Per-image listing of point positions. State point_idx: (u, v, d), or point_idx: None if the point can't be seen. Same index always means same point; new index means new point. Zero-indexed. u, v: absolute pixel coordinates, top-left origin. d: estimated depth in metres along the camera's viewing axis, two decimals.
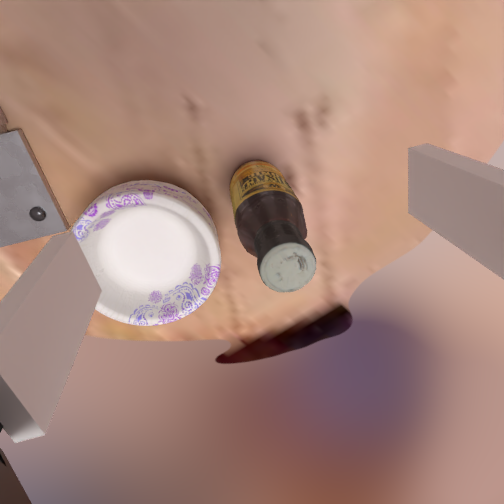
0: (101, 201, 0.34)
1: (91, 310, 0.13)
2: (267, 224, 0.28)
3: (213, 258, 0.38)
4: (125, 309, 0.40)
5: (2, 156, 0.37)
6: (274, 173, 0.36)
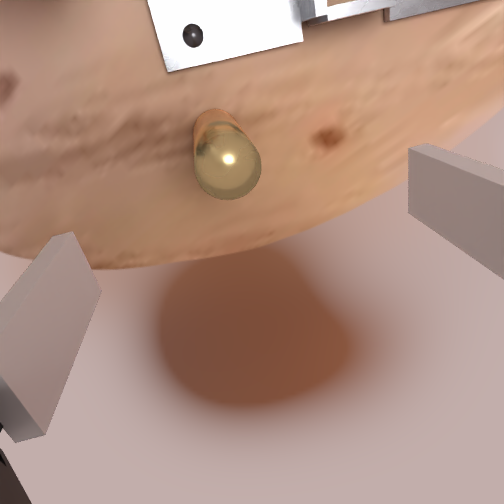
0: None
1: (91, 310, 0.13)
2: None
3: None
4: None
5: None
6: None
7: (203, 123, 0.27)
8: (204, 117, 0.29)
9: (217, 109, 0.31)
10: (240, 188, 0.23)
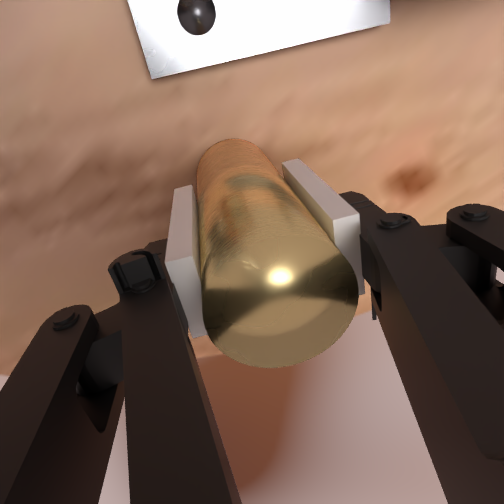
0: None
1: None
2: None
3: None
4: None
5: None
6: None
7: (216, 175, 0.14)
8: (216, 158, 0.16)
9: (237, 139, 0.19)
10: (306, 344, 0.10)
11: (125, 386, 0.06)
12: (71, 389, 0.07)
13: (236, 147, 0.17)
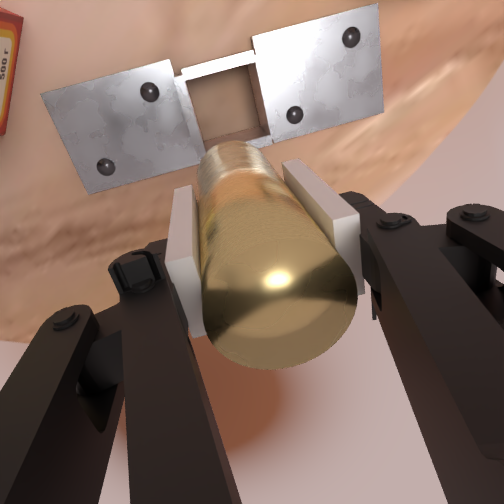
0: None
1: None
2: None
3: None
4: None
5: (281, 62, 0.32)
6: None
7: (216, 178, 0.14)
8: (216, 160, 0.16)
9: (237, 141, 0.19)
10: (305, 346, 0.10)
11: (125, 386, 0.06)
12: (72, 389, 0.07)
13: (236, 149, 0.17)
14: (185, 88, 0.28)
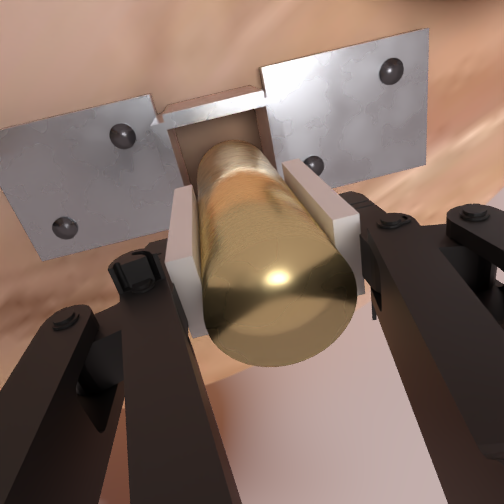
0: None
1: None
2: None
3: None
4: None
5: (298, 101, 0.24)
6: None
7: (217, 177, 0.14)
8: (217, 159, 0.16)
9: (237, 141, 0.19)
10: (305, 344, 0.10)
11: (125, 386, 0.06)
12: (71, 389, 0.07)
13: (236, 148, 0.17)
14: (167, 139, 0.20)
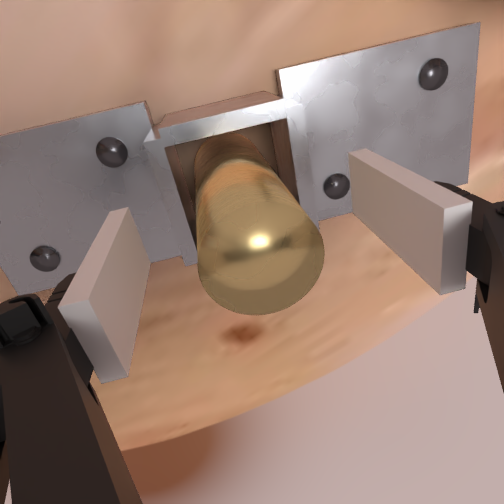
0: None
1: (146, 279, 0.15)
2: None
3: None
4: None
5: (321, 110, 0.20)
6: None
7: (211, 162, 0.16)
8: (211, 148, 0.19)
9: (230, 133, 0.21)
10: (283, 295, 0.12)
11: (9, 453, 0.06)
12: None
13: (229, 139, 0.19)
14: (165, 159, 0.17)
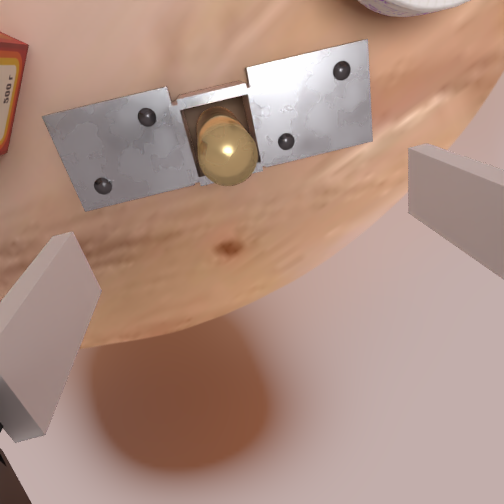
0: None
1: (91, 310, 0.13)
2: None
3: None
4: None
5: (274, 92, 0.34)
6: None
7: (205, 118, 0.30)
8: (206, 113, 0.32)
9: (218, 106, 0.34)
10: (239, 175, 0.25)
11: None
12: None
13: (217, 108, 0.32)
14: (180, 117, 0.30)
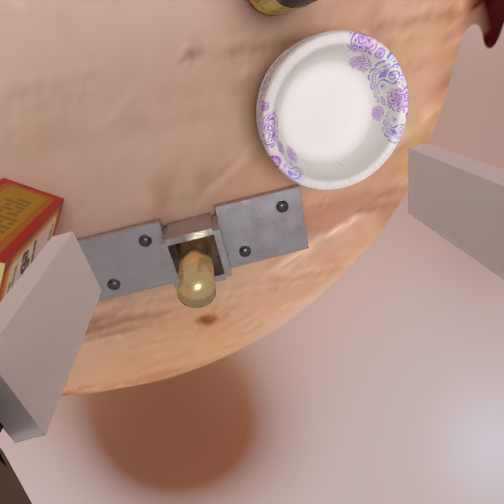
0: (268, 150, 0.38)
1: (91, 310, 0.13)
2: None
3: (341, 39, 0.34)
4: (381, 144, 0.39)
5: (234, 221, 0.48)
6: None
7: (185, 251, 0.44)
8: (186, 241, 0.46)
9: None
10: (204, 301, 0.39)
11: None
12: None
13: None
14: (167, 250, 0.44)
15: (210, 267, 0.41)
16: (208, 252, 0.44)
